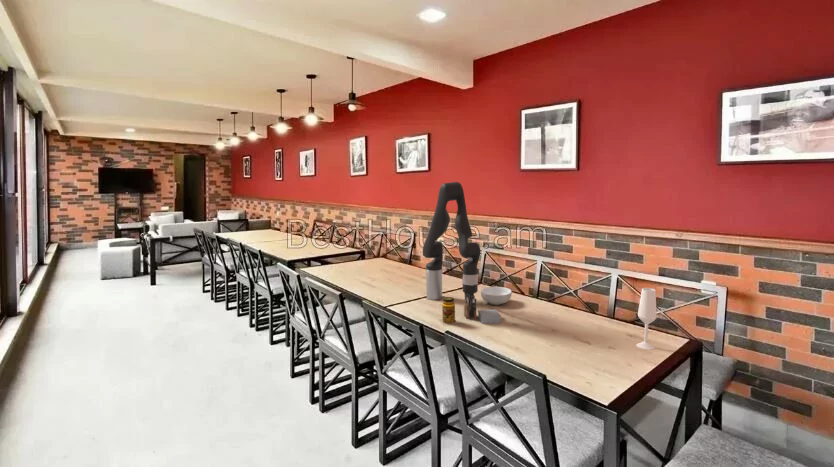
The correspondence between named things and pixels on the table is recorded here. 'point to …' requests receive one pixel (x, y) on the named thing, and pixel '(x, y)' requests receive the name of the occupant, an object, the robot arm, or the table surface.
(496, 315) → the slate base
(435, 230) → the robot arm
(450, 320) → the condiment
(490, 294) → the cereal bowl
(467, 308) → the walnut block
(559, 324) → the table surface
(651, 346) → the champagne flute
